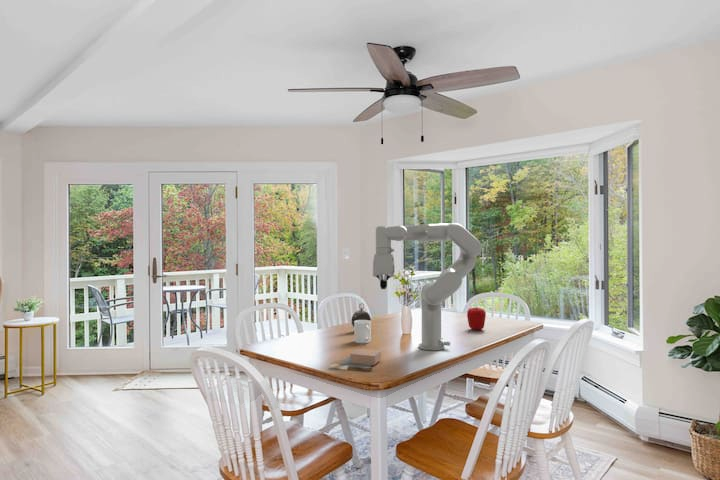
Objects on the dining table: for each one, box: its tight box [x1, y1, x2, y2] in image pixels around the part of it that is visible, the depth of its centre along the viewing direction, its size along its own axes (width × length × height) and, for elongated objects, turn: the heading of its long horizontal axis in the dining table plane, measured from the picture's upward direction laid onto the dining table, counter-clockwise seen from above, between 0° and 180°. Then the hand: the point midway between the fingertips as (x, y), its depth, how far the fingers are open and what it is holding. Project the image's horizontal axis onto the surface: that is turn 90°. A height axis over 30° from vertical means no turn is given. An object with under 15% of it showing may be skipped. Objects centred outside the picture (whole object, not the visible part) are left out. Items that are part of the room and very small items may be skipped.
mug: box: [353, 320, 372, 345], centre depth 236 cm, size 9×12×11 cm
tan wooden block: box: [349, 348, 382, 366], centre depth 199 cm, size 4×9×11 cm
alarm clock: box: [351, 303, 372, 328], centre depth 263 cm, size 11×5×16 cm, turn 121°
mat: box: [338, 355, 374, 367], centre depth 199 cm, size 14×14×1 cm
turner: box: [328, 363, 373, 372], centre depth 189 cm, size 18×5×1 cm, turn 71°
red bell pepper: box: [466, 306, 487, 331], centre depth 266 cm, size 11×10×14 cm
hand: (383, 288), depth 224 cm, fingers closed
